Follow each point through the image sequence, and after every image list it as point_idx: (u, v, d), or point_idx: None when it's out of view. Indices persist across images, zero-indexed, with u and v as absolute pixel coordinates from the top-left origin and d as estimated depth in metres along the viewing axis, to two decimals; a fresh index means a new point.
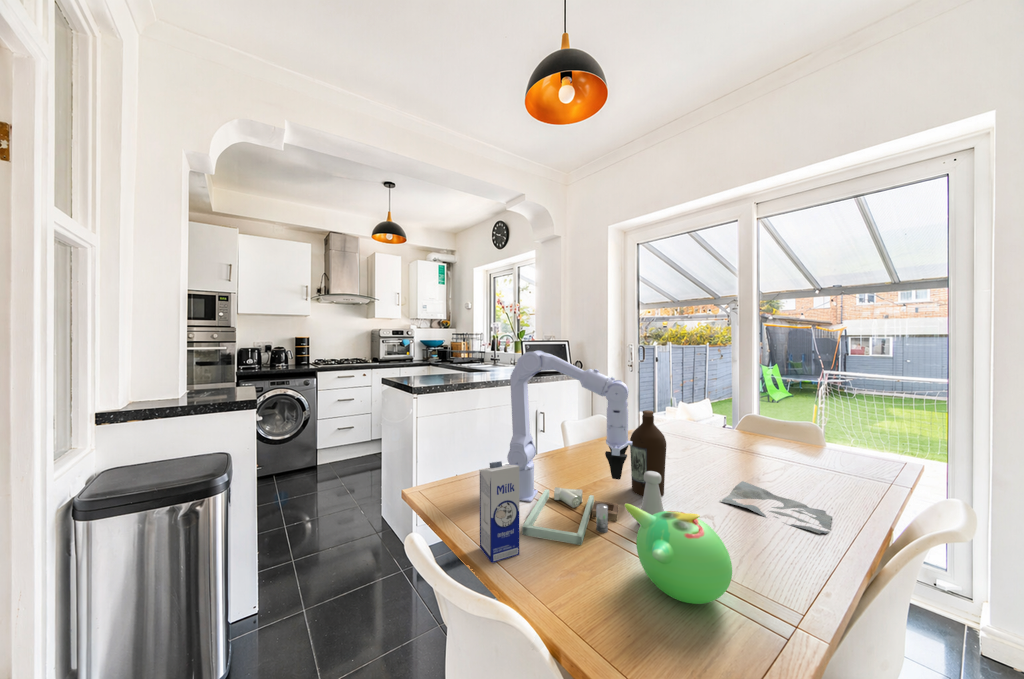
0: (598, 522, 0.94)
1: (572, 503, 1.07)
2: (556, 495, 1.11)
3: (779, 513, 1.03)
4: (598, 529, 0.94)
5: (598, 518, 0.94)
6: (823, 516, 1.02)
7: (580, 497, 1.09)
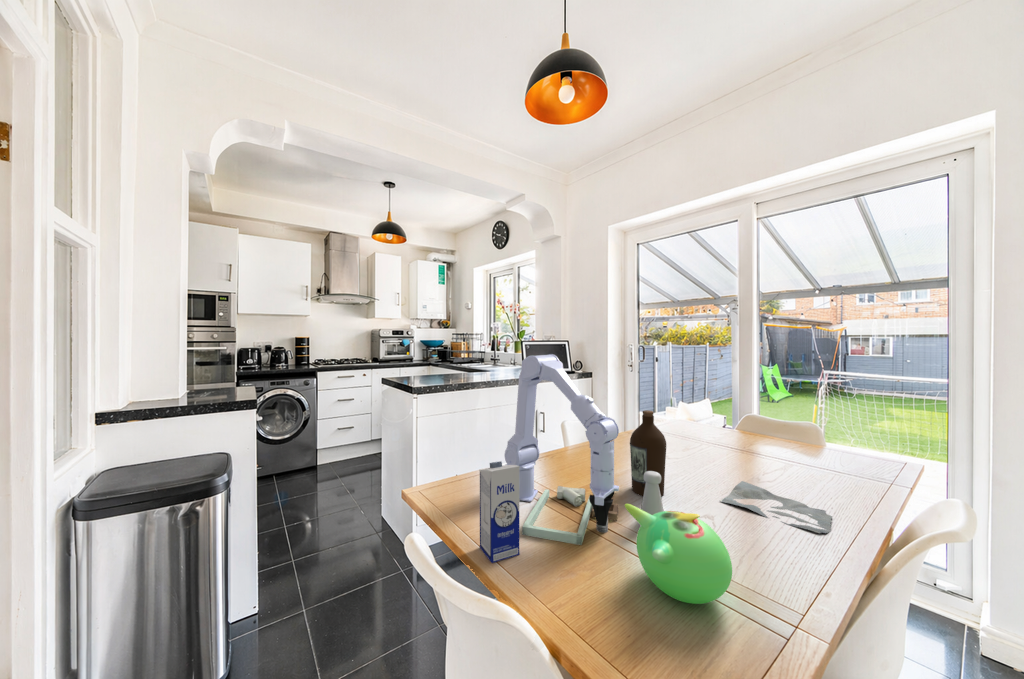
0: None
1: (574, 502, 1.08)
2: (559, 494, 1.12)
3: (779, 513, 1.03)
4: (598, 529, 0.94)
5: None
6: (823, 516, 1.01)
7: (583, 496, 1.10)
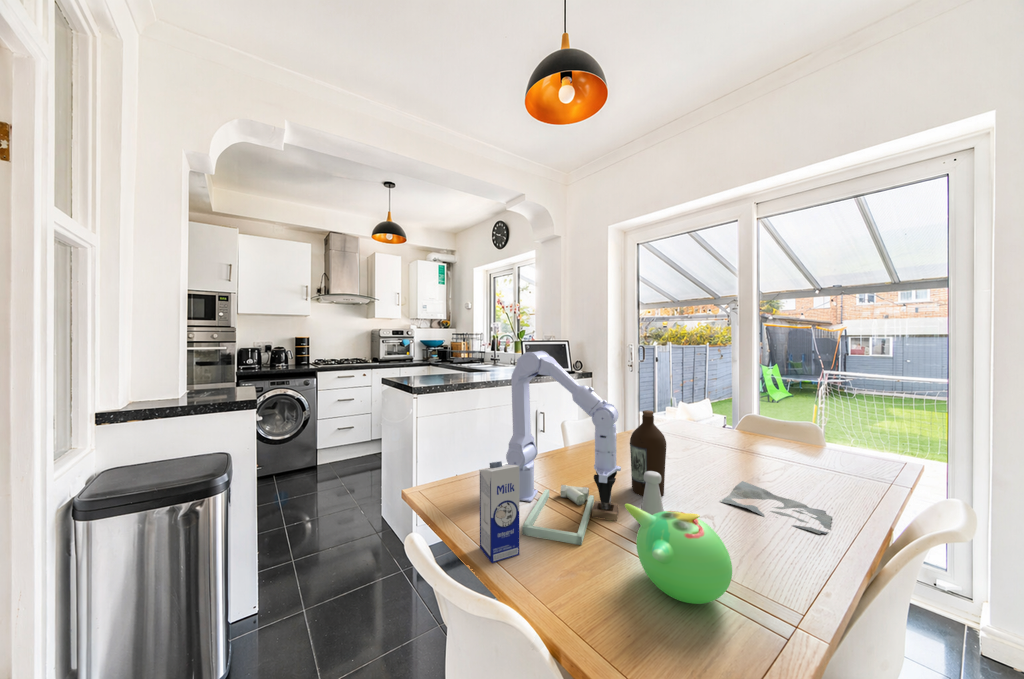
0: None
1: (577, 500, 1.09)
2: (562, 492, 1.13)
3: (779, 513, 1.03)
4: (602, 506, 1.03)
5: None
6: (823, 516, 1.02)
7: (586, 495, 1.11)
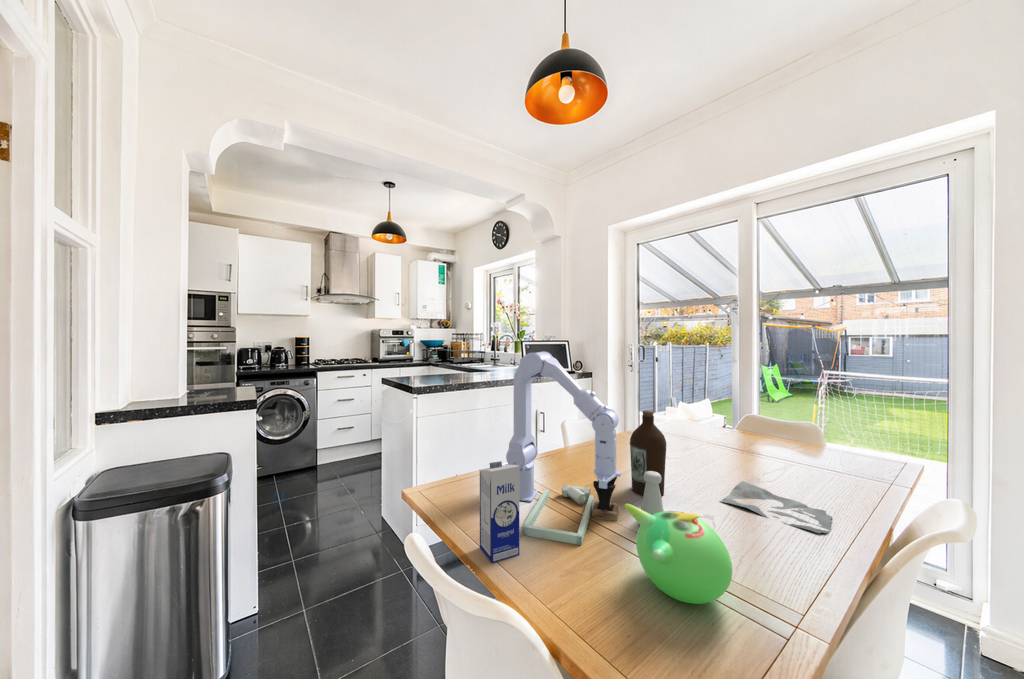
0: None
1: (579, 500, 1.09)
2: (564, 492, 1.13)
3: (779, 513, 1.03)
4: None
5: None
6: (823, 516, 1.02)
7: (587, 494, 1.11)
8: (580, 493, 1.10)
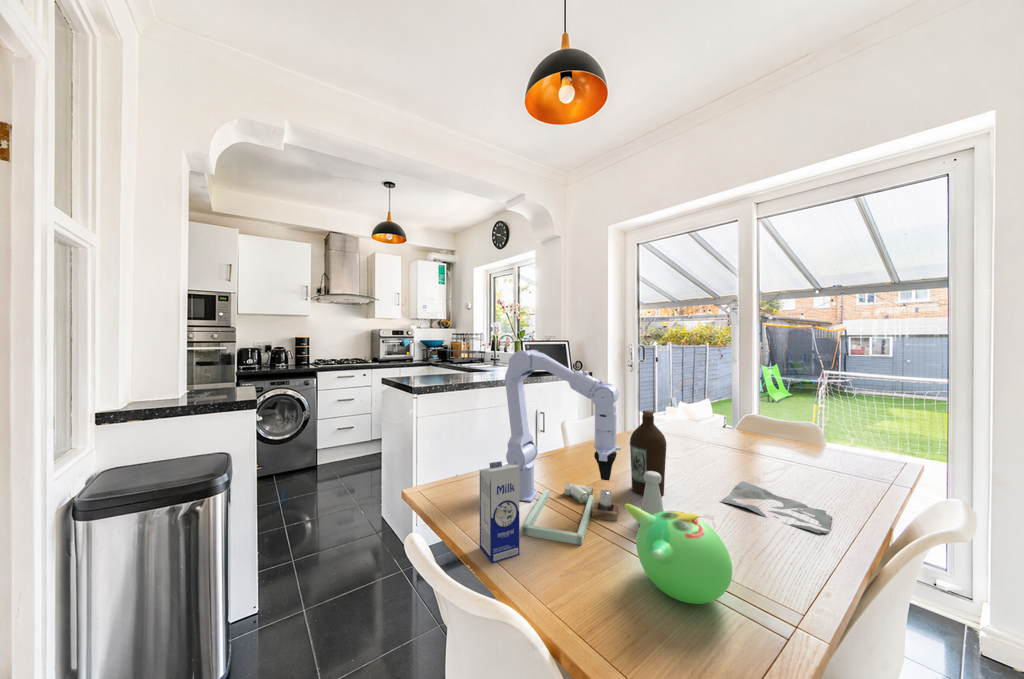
0: (602, 506, 1.03)
1: (581, 499, 1.10)
2: (566, 490, 1.14)
3: (779, 513, 1.03)
4: None
5: (602, 503, 1.03)
6: (823, 516, 1.02)
7: (589, 493, 1.12)
8: (582, 492, 1.10)
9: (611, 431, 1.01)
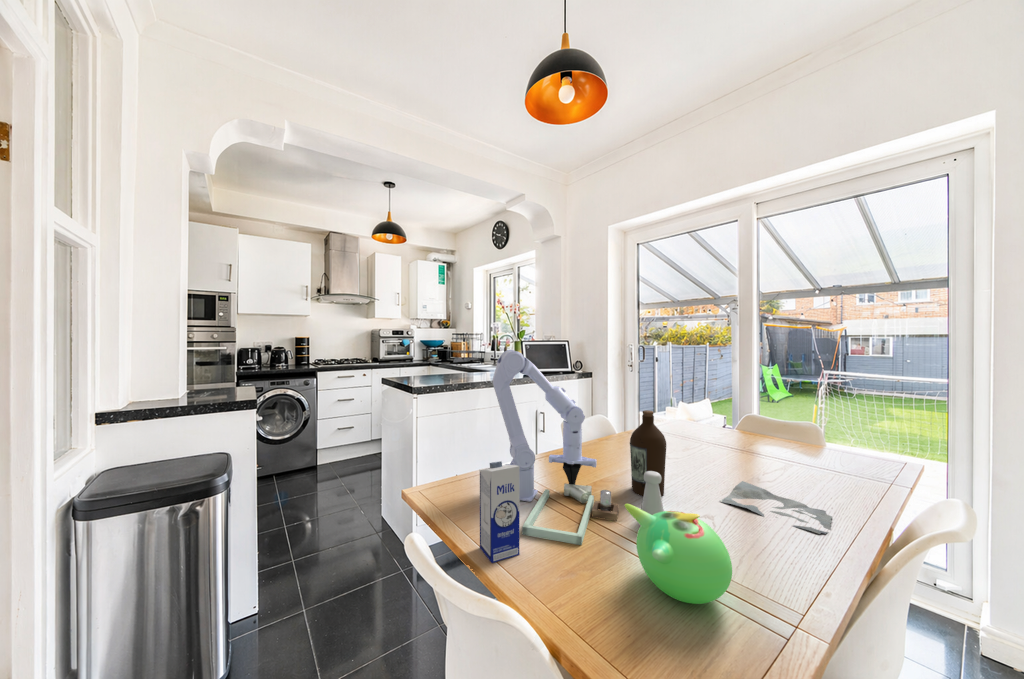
0: (602, 506, 1.03)
1: (581, 499, 1.10)
2: (566, 491, 1.14)
3: (779, 513, 1.03)
4: None
5: (602, 503, 1.03)
6: (823, 516, 1.01)
7: (589, 493, 1.12)
8: (583, 492, 1.10)
9: (564, 444, 1.17)
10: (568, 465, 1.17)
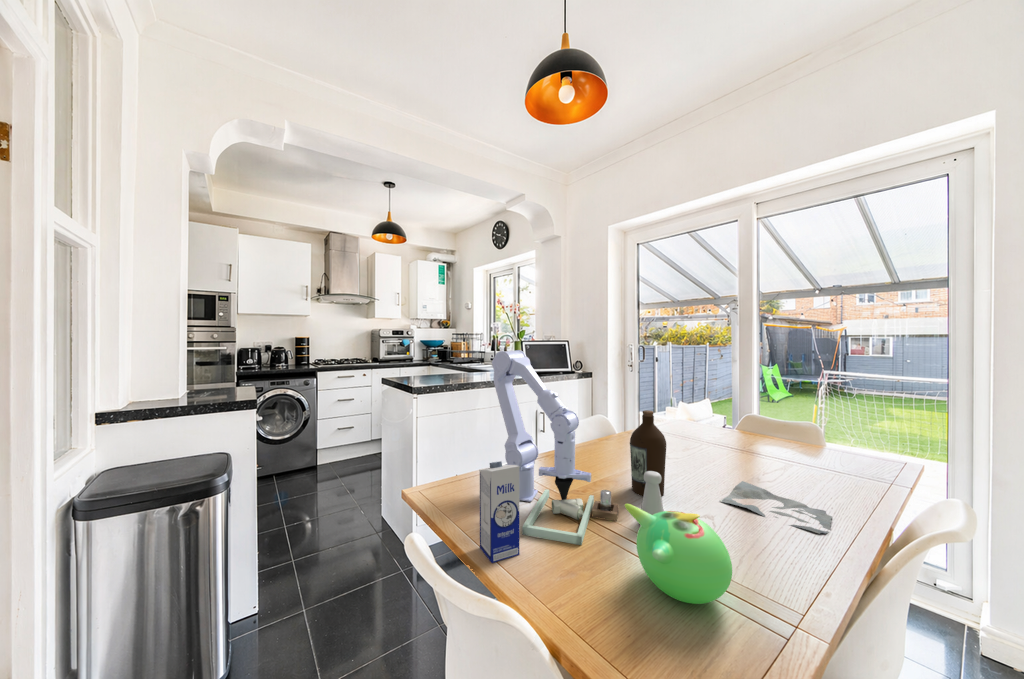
0: (602, 506, 1.03)
1: (577, 515, 0.99)
2: (556, 508, 1.02)
3: (779, 513, 1.03)
4: None
5: (602, 503, 1.03)
6: (823, 516, 1.01)
7: (581, 507, 1.03)
8: (577, 507, 1.00)
9: (555, 455, 1.06)
10: (561, 479, 1.06)
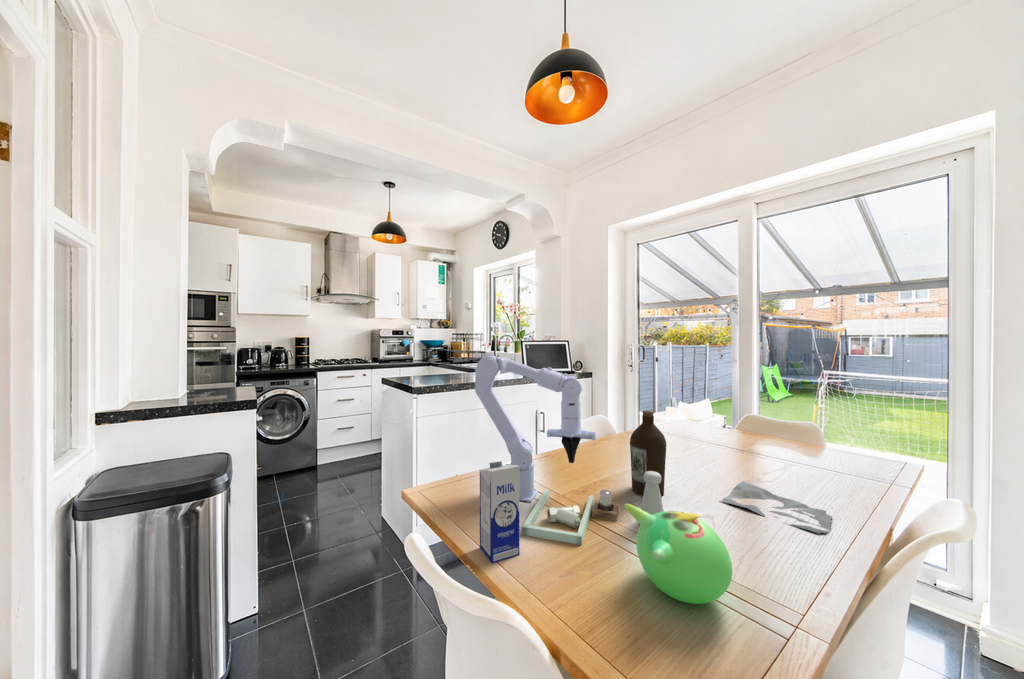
0: (602, 506, 1.03)
1: (575, 523, 0.96)
2: (553, 517, 0.98)
3: (779, 513, 1.03)
4: None
5: (602, 503, 1.03)
6: (823, 516, 1.01)
7: (578, 514, 0.99)
8: (574, 514, 0.97)
9: (562, 417, 1.13)
10: (567, 439, 1.14)
